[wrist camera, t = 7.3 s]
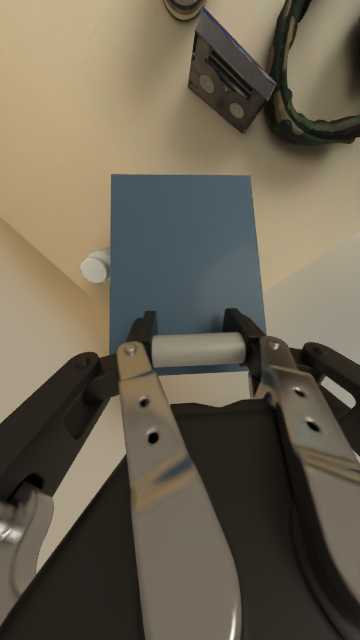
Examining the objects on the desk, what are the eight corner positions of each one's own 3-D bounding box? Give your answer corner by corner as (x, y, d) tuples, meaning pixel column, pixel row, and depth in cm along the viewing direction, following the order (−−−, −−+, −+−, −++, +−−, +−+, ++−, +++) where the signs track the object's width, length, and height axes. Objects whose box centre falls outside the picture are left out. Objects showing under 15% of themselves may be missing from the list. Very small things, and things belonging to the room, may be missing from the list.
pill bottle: (93, 255, 27) (68, 264, 20) (113, 242, 26) (94, 247, 19) (110, 277, 29) (92, 292, 22) (129, 266, 28) (117, 278, 21)
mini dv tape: (250, 118, 19) (278, 78, 14) (242, 133, 20) (267, 101, 15) (194, 67, 17) (204, -2, 12) (187, 86, 18) (195, 29, 13)
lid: (264, 368, 13) (322, 387, 8) (112, 375, 12) (71, 402, 7) (246, 183, 15) (283, 105, 10) (114, 182, 14) (82, 99, 9)
